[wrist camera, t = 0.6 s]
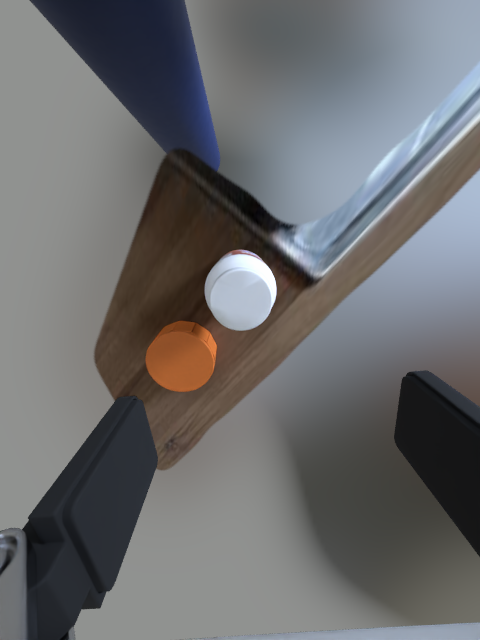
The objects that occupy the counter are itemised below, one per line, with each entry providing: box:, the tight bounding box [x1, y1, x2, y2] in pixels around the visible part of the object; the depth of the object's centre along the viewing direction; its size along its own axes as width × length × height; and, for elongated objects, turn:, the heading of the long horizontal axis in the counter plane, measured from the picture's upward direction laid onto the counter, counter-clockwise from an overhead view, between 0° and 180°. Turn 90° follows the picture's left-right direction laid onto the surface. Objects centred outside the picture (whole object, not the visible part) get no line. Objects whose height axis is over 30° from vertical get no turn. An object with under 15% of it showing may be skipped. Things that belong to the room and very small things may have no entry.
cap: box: [146, 321, 217, 392], centre depth 30 cm, size 8×8×4 cm
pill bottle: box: [205, 250, 276, 331], centre depth 23 cm, size 6×6×11 cm
